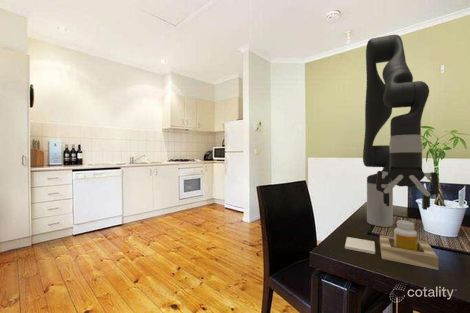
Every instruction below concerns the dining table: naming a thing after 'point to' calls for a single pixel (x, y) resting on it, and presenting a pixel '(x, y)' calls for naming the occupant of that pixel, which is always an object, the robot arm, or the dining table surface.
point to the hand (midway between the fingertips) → (405, 207)
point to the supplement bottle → (405, 236)
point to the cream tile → (360, 245)
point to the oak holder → (409, 253)
